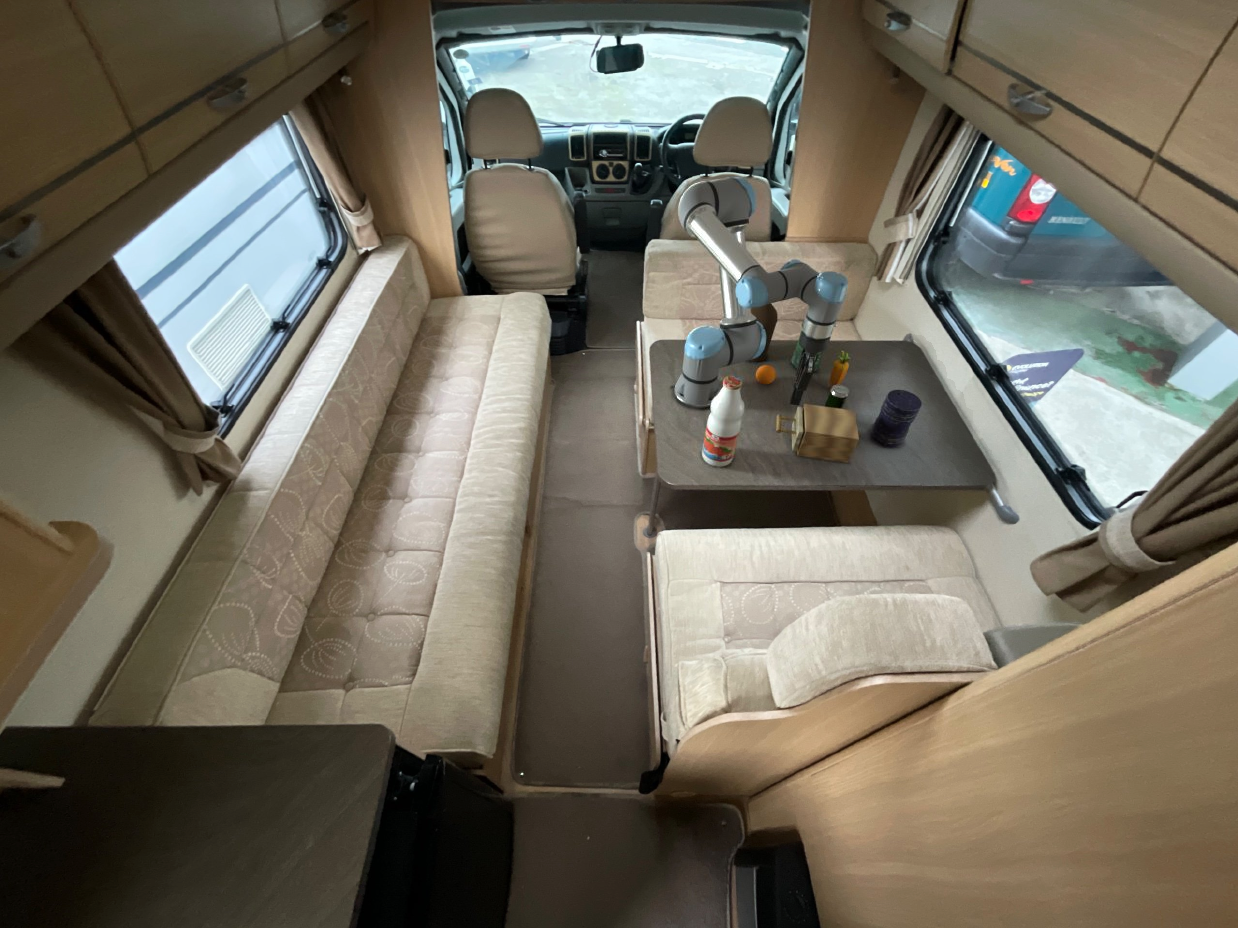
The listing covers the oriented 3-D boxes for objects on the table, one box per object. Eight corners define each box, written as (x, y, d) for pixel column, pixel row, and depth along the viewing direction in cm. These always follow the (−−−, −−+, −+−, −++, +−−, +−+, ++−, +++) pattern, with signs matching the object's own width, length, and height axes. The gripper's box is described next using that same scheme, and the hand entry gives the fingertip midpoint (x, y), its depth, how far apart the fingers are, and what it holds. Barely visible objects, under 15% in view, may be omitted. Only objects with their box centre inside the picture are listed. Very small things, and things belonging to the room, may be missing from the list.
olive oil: (751, 366, 198) (766, 302, 180) (732, 351, 205) (745, 288, 187) (774, 357, 202) (790, 294, 184) (754, 343, 209) (768, 281, 191)
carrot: (841, 394, 188) (855, 357, 177) (826, 394, 188) (840, 357, 177) (837, 385, 191) (851, 348, 181) (823, 385, 191) (836, 348, 181)
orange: (754, 386, 190) (757, 371, 185) (754, 375, 195) (758, 360, 190) (773, 389, 189) (777, 373, 185) (773, 378, 194) (777, 362, 189)
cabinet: (797, 455, 167) (805, 431, 160) (796, 427, 176) (804, 403, 169) (848, 463, 165) (859, 439, 158) (844, 434, 174) (854, 410, 167)
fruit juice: (739, 455, 166) (758, 380, 146) (721, 472, 161) (738, 396, 141) (713, 440, 171) (728, 365, 151) (695, 456, 166) (707, 381, 146)
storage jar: (908, 446, 171) (929, 408, 160) (880, 450, 169) (898, 412, 159) (891, 424, 178) (909, 387, 167) (863, 428, 176) (880, 391, 165)
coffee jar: (821, 371, 197) (837, 325, 184) (802, 376, 195) (817, 329, 182) (805, 356, 203) (819, 311, 190) (787, 360, 201) (800, 315, 188)
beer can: (819, 422, 178) (830, 393, 169) (820, 412, 181) (831, 382, 173) (837, 426, 177) (849, 396, 168) (837, 415, 180) (849, 386, 172)
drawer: (772, 448, 168) (778, 428, 162) (773, 423, 176) (778, 403, 170) (838, 458, 165) (847, 438, 160) (836, 432, 173) (844, 413, 168)
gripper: (832, 349, 140) (808, 419, 157) (829, 321, 149) (806, 390, 166) (802, 345, 141) (781, 416, 157) (801, 317, 150) (781, 387, 167)
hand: (794, 403), depth 162 cm, fingers closed
